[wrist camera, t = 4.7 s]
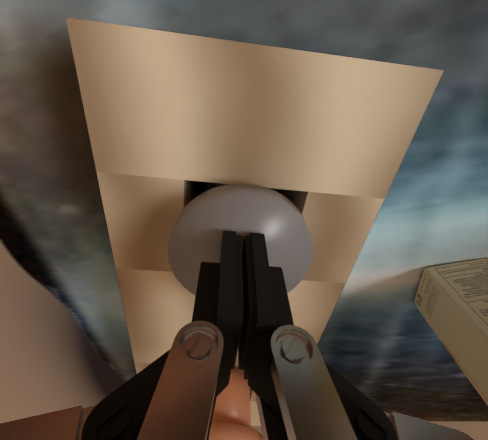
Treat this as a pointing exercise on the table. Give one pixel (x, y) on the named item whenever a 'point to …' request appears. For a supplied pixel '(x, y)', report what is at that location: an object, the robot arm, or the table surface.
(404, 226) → the table surface
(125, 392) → the robot arm
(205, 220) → the grey knob
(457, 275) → the skincare box
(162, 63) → the button console
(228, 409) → the terracotta button
